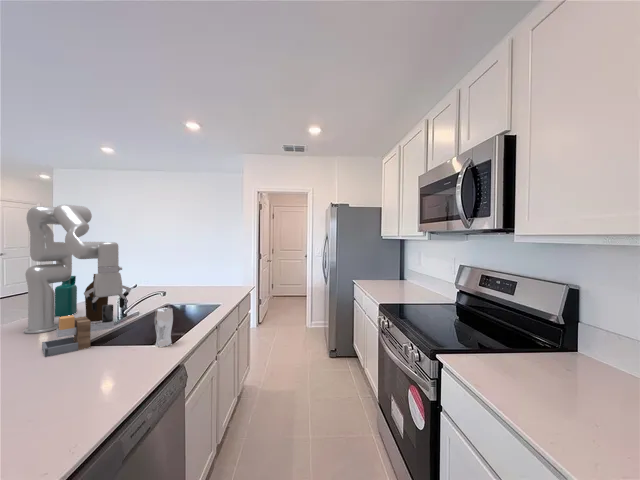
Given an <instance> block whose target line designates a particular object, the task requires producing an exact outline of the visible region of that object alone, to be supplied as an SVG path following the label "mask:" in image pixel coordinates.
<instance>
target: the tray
mask: <svg viewBox="0 0 640 480" xmlns="http://www.w3.org/2000/svg"><path fill="white" fill-rule="evenodd" d="M41 350H42V353H43V356H44V357H45V358H47V357H53V356H58V355H61V354H68V353H72V352H76V351H77V352H78V351H79V350H78V342H77V343H74V336H67V337H62V338H58V339H52V340H47V341H42V343H41Z"/></svg>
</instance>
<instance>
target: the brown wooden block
mask: <svg viewBox="0 0 640 480" xmlns="http://www.w3.org/2000/svg"><path fill="white" fill-rule="evenodd" d="M91 323H92V321H90V320H89V319H88V318H87V317H86V315H85V316H78V317H75V326H77V334H76V335H73V337H74V343H77V342H78V351H79V350H85V349H84V348H86V349H90V348H91V332H90V329H91ZM89 347H90V348H89Z"/></svg>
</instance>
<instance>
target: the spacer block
mask: <svg viewBox="0 0 640 480" xmlns="http://www.w3.org/2000/svg"><path fill="white" fill-rule="evenodd" d="M75 318H76V317H75V316H74V315H70V316H61V317H58V325H59V327H58V328H59V329H60V330H64V329H70V328H75Z"/></svg>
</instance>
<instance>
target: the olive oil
mask: <svg viewBox="0 0 640 480" xmlns="http://www.w3.org/2000/svg"><path fill="white" fill-rule="evenodd" d="M95 274H96V273H93V281H92V282H91V283H89V284H88V286H87V287H86V288H85V290H84V292H86V291H88V290H90V289H92V288H94V279H95ZM89 296H90V297H91V298H93V297H94V294H93V292H92V293H90V294H89ZM84 300H85V301H84V303H85V316H86V317H87V318H88V319H89V320H90V321H91V322H101V321H102V306H103V305H109V302H108V301H109V296H108V297H99V298H98V299H97V300H96V302H97V311H96V312H94V311H93V310H92V302H91V301H90V300H88V299H87V298H86V297H85V296H84ZM100 320H101V321H100Z"/></svg>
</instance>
